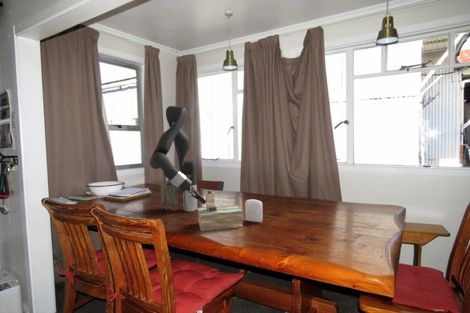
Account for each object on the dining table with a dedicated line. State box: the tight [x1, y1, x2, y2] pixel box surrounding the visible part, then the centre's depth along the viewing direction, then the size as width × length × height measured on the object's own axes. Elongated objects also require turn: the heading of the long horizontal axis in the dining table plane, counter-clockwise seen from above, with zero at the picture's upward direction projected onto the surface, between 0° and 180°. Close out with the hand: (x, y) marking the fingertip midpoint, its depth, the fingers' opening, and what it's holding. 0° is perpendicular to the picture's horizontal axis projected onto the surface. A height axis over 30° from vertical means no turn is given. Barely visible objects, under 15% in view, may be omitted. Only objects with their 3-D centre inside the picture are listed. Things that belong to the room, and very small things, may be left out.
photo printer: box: [244, 199, 264, 223], centre depth 161 cm, size 10×4×12 cm, turn 60°
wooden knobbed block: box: [205, 190, 215, 211], centre depth 154 cm, size 4×4×10 cm
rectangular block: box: [197, 204, 244, 232], centre depth 155 cm, size 16×23×10 cm
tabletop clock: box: [160, 178, 179, 212], centre depth 192 cm, size 14×9×25 cm, turn 22°
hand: (205, 202), depth 153 cm, fingers closed
